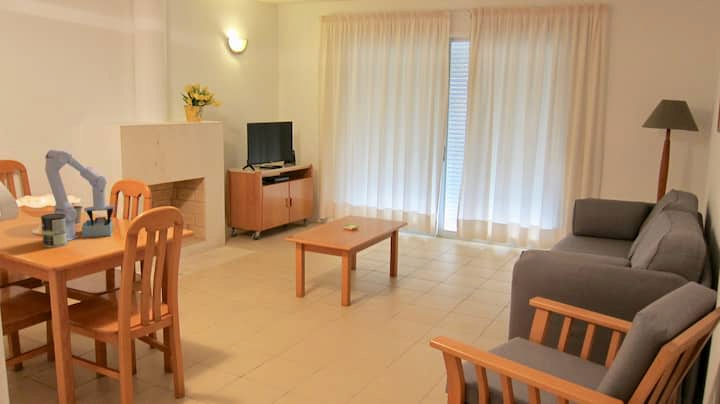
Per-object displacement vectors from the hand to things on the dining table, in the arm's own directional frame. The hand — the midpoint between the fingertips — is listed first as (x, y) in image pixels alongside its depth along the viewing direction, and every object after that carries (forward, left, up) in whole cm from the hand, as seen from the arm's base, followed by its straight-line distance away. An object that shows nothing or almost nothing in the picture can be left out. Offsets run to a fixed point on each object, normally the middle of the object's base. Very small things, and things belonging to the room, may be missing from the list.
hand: (100, 224), depth 304 cm
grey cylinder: (-1, -1, -3) cm, 4 cm away
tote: (-4, -1, -4) cm, 5 cm away
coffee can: (-30, +5, -4) cm, 30 cm away
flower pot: (+17, +27, -4) cm, 32 cm away
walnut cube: (-7, -4, -3) cm, 9 cm away
